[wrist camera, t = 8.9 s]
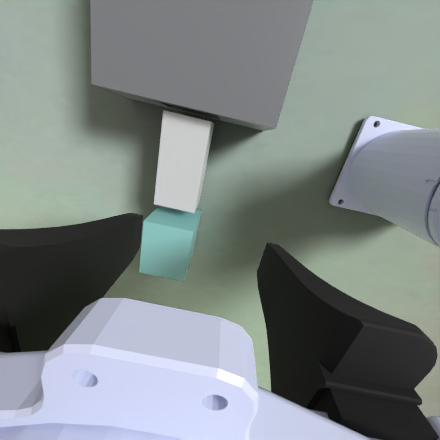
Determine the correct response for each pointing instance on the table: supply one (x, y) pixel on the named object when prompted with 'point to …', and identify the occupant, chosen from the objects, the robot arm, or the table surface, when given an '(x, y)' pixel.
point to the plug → (176, 197)
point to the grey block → (200, 54)
